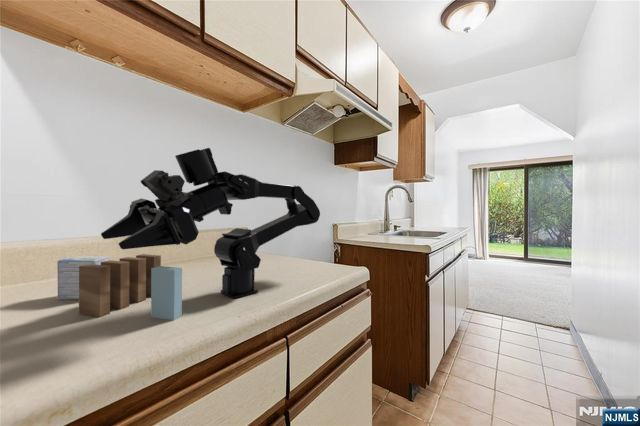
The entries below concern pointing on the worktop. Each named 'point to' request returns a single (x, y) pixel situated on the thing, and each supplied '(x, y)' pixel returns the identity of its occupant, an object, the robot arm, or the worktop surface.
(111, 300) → the tile
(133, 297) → the tile
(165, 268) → the tile
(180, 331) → the worktop surface
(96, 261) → the medicine box
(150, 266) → the tile
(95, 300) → the tile
